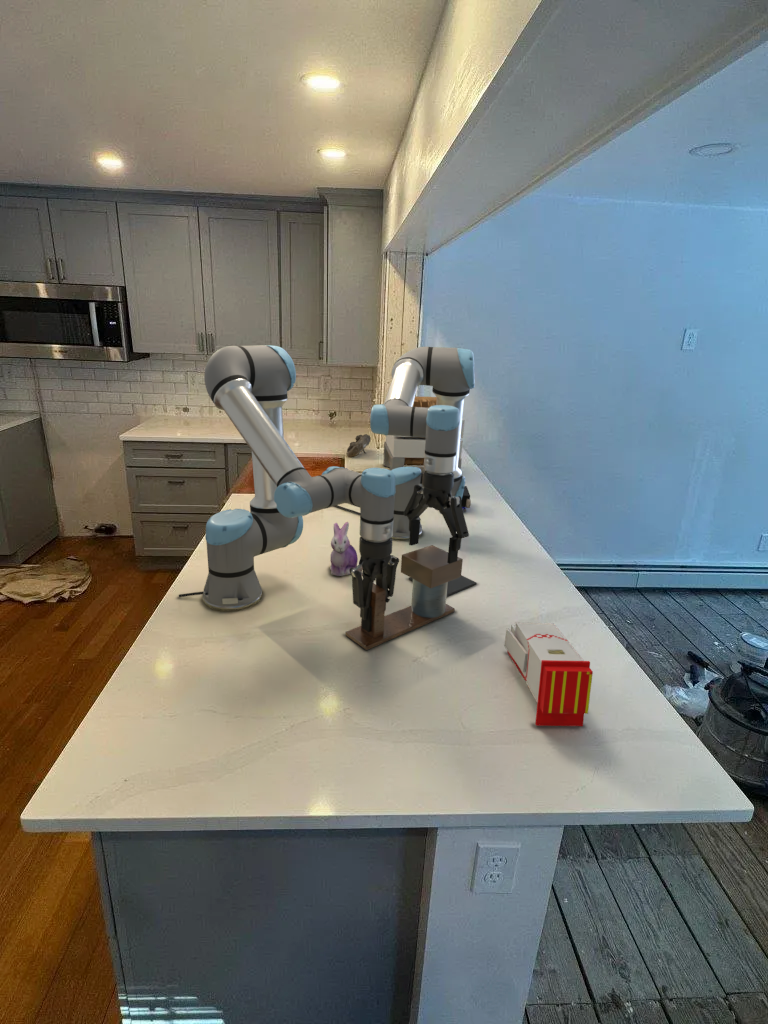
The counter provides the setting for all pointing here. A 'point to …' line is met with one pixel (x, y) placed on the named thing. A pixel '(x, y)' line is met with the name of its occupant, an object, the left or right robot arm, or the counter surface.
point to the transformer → (411, 444)
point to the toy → (551, 672)
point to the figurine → (342, 552)
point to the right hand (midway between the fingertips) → (432, 552)
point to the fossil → (358, 445)
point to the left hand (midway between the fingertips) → (372, 626)
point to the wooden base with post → (401, 614)
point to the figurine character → (465, 499)
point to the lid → (430, 566)
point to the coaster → (457, 585)
